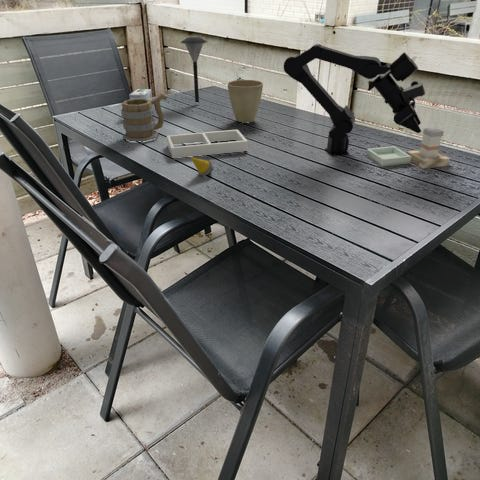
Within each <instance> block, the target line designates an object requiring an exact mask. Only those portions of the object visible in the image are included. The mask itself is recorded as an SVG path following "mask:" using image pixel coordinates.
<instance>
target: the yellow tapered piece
mask: <svg viewBox="0 0 480 480" xmlns="http://www.w3.org/2000/svg"><path fill="white" fill-rule="evenodd" d="M189 159H190V160H191V161H192V163H193V165H194V166H195V168H196V170H197V173H198V175H200V176H201V177H206V176H207V175H209V174H212V173H211V172H213V171H214V168H213V162H212V161H210V160H209V159H201V158H198V157H190V158H189Z"/></svg>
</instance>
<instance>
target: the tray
mask: <svg viewBox="0 0 480 480" xmlns="http://www.w3.org/2000/svg"><path fill="white" fill-rule="evenodd" d="M365 156H366V157H367V158H368V159H370V160H371V161H373V162H374V163H376V164H377V165H378V166H380V167H383V168H384V167H393V166H401V165H409V164H411V157H412V156H410V155H408V154H407V152H406V151H403V150H401V149H399V148H398V147H397V146H395V145H391V146H382V147H373V148H367V149H366V151H365Z"/></svg>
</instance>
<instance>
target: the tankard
mask: <svg viewBox="0 0 480 480" xmlns="http://www.w3.org/2000/svg"><path fill="white" fill-rule="evenodd" d="M167 99H168V96H167V95H165V94H163V93H159V95H158V96H156V97H154V99H153V98H152V100H147V99H130V98H129V99H126V100H124V101H123V102H122V103H121V107H122V109H121V110H120V113H121V117H123V121H124V122H122V125H123V129H124V131H125V133H124V134H123V135H122V139H123V138H125V139H127V140H129V141H141V142H143V141H147V140H150V139H154V138H156V136H157V135H158V136H159V132H158V131H156V130H159V129H161V128H163V125H164V122H165V114H164V112H163V111H162V107H161V101H162V100H163V101H166V100H167ZM152 105H154V106H153V107H152ZM155 112H156V115H157V117H158V121H157V122H156V120H155V119H154V116H153V115H154V114H155ZM156 139H157V138H156Z"/></svg>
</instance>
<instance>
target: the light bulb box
mask: <svg viewBox="0 0 480 480" xmlns="http://www.w3.org/2000/svg"><path fill="white" fill-rule="evenodd" d="M128 96H129V100H130V99H147V100H153V97H152V89H151V88H149V89H147V88H137V89H135V90H134V91H133V92H131V93H129V95H128ZM153 105H154V104H153ZM153 105H152V107H154V106H153Z"/></svg>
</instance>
